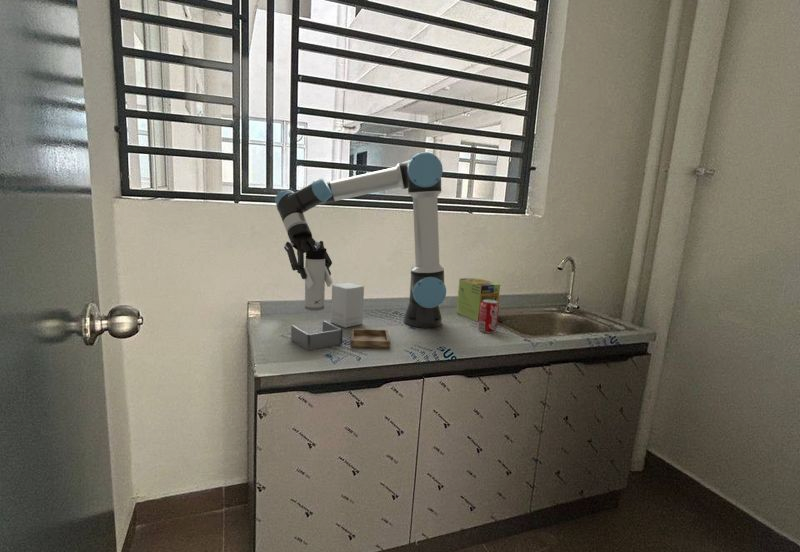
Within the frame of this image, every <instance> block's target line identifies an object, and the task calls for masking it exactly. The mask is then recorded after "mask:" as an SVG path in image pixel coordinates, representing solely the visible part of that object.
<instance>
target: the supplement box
mask: <svg viewBox="0 0 800 552" xmlns="http://www.w3.org/2000/svg"><path fill="white" fill-rule="evenodd" d="M364 296H365V286H364V285H360V284H355V283H352V282H343V283H335V284H331V310H330V311H331V314H330V323H331V324H333V325H336V326H340V327H342V328H349V327H354V326H355V327H356V326H358V325H363V324H364V323H363V319H364V301H365V300H364Z"/></svg>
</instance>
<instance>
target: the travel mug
mask: <svg viewBox="0 0 800 552" xmlns="http://www.w3.org/2000/svg"><path fill="white" fill-rule="evenodd" d="M325 251H326V252H327V248H325V247H324V249H312V250H308V251H306V253H305V260H304V268H305V267H307V269H308V272H309V274H310V277H311V279H312V282H313V286H312V287H311V289H308V287H307V284H306V282H305V281H304V286H305V287H304V309H305V310H307V311H312V312H313V311H314V312H316V311H322V310H324V309H325V296H326V295H325V294H326V293H325V291H326V290H325V288H326V282H325Z"/></svg>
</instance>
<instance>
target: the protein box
mask: <svg viewBox="0 0 800 552" xmlns="http://www.w3.org/2000/svg"><path fill="white" fill-rule="evenodd" d="M458 281H459V282H458V289H457V290H458V292H457V304H456V313H457V314H459V315H462V316H464V317H465V318H469V319H471V320H473V321H474V322H475V321H476V323H477V322H478V323H479V314H480V305H481V303H482V302H483V300H484V299H492V300H496V301H498V302H500V301H499V300H500V299H499V298H500V292H501V291H500V290H501V284H499V283H496V282H492V281H489V280H486V279H483V278H479V277H475V278H474V277H472V278H470V277H469V278H468V277H467V278H459V280H458Z"/></svg>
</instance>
